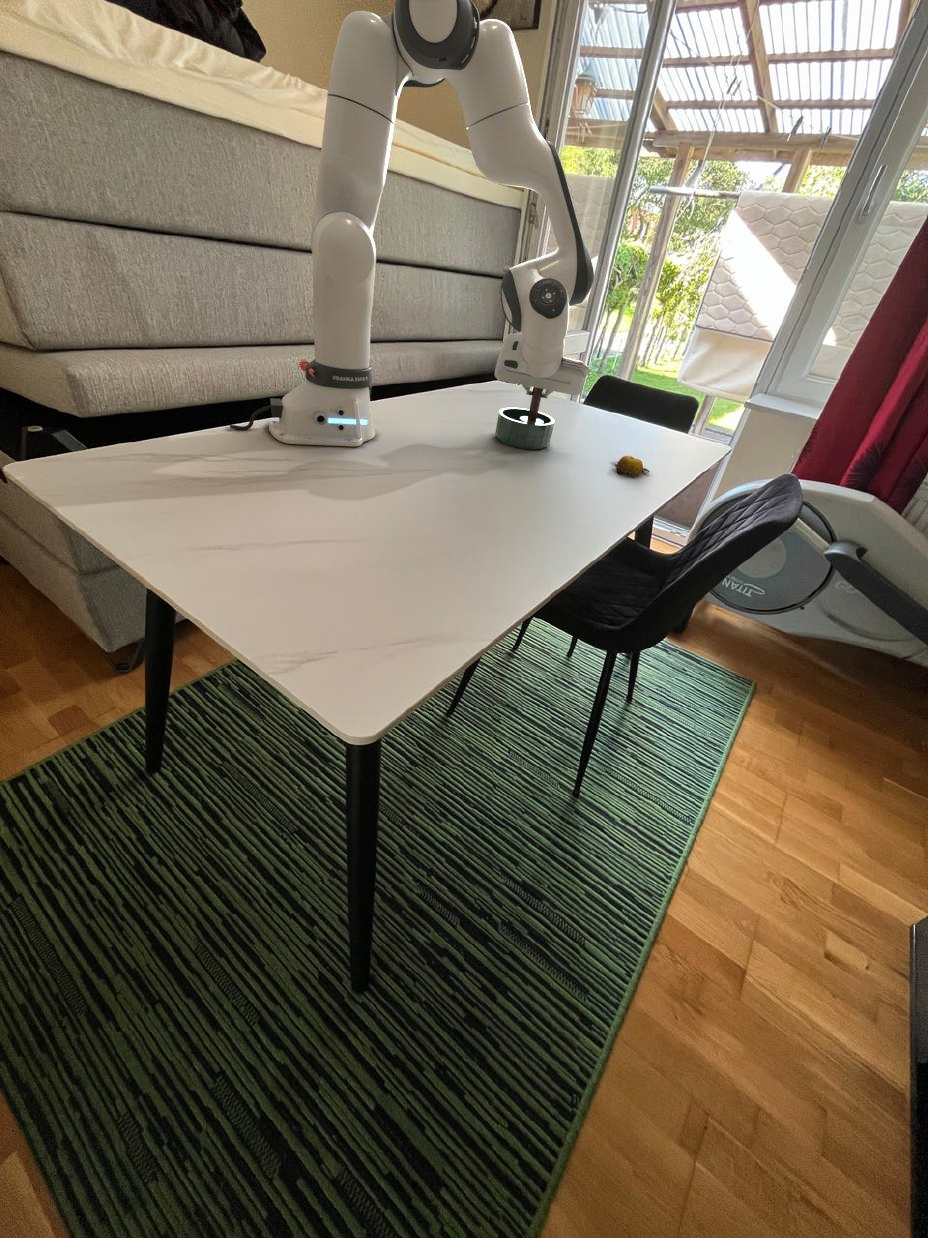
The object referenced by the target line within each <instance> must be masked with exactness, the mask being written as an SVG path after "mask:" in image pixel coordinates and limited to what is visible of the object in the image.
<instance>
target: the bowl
mask: <svg viewBox="0 0 928 1238" xmlns="http://www.w3.org/2000/svg"><path fill="white" fill-rule="evenodd" d="M528 414H529V409H527V408H520V407H504V408H500V409H499V411H498V415H497V420H496V426H495V433H494V435H495V436H496V438H497V440H499V442H501V443H503V444H505V445H507V446H511V447H513V448H517V449H522V450H530V451H534V450H537V451H538V450H542V449H545V448H547V447H548V446H549V445H550V442H551V438H552V435H553V430H554V426H555V419H554V418H553V417H552V416H550V415H548V414H546V413H544V412H540V411H538V415H537V418H538V419H541V420H543V421H544V424H530V423H524V422H520V421H519V419H520V417H522V416H528Z"/></svg>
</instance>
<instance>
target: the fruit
mask: <svg viewBox="0 0 928 1238" xmlns="http://www.w3.org/2000/svg"><path fill="white" fill-rule="evenodd" d="M614 463H615V465H616V467H615V470H616V472H617V473H619V474H620V473H624V474H626V473H628V474H631V475H632V477H639V476H640V475H641V473H642V472H646V474H648V473H650V472H651V471H650V469H648V468H646V467H644V464H643V461H642V460H641V459H639V458H636V457H633V456H632V455H623V456H622V457H621V458H619V460H618V461H615V462H614Z"/></svg>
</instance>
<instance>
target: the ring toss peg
mask: <svg viewBox="0 0 928 1238" xmlns="http://www.w3.org/2000/svg"><path fill="white" fill-rule="evenodd" d="M542 391H543V389H541V388H536V387H534V389H533V395H531V400H530V404H529V409H528V410H529V414H528V416H522V417H520V419H519V421H520V422H524V423H530V424H544V421H543V420H541V419H538V418H537V415H538V412H539V411H540V406H541V401H542V397H541V394H542Z"/></svg>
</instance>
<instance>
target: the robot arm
mask: <svg viewBox="0 0 928 1238" xmlns="http://www.w3.org/2000/svg"><path fill="white" fill-rule="evenodd" d="M394 2H395V3H394V6H393V8H392V10H391V11H390V12H389V13H388V14H386V15H380V16H379V15H377V14H376V13H374V12H371V11H368V10H356V11H351V12H350V13H349V14H347V16H346V17H345V18H344V19H343V21H342V22H341V26H340V29H339V33H338V36H337V39H336V40H337V41H336V44H335V48H334V53H333V58H332V62H331V67H330V72H329V79H328V87H327V96H326V102H325V103H326V104H325V112H324V123H323V129H322V130H323V131H322V141H321V148H320V158H319V159H320V160H319V165H318V176H317V183H316V190H315V199H314V208H313V215H312V216H313V217H312V224H311V225H312V226H311V233H310V249H311V256H312V257H311V258H312V294H313V295H312V296H313V298H312V299H313V300H312V302H313V304H312V305H313V334H314V335H313V341H314V359H313V360H311V361H310V362H309V361H308V360H307V359H305V358H302V359H300V361H299V362H298V366H299V368H300V370H302V371H303V372H304V373H305V374H304V375H305V380H303V381H302V382H301V383H299V384H298V385H297V386H295V387H294V388H293V389H291V390H290V391H289V392H287V393H286V394H285V395H283V397H282V399H281V398H274V397H273V398H272V397H271V398H269V402H270V404H269V405H267V406H263V407H261V408H258V409H257V410H255V411H254V412H253V413H252V414H251V416H250V418H249V422H248V424H247V425H245V426H242V425H236V424H229V429H233V430H237V431H247V430H250V429H251V428H252V427H253V425H254V422H255V419H256V417H257V416H258V415H259V414H262V413H264V412H267V411H270V412H271V417H272V418H271V420H269V423H268V430H269V433H270V434H271V436H273V438H275V439H276V440H277V441H279V442H282V443H284V444H290V445H307V446H308V445H309V446H332V447H333V446H334V447H360V446H361V445H362V444H363V443H364V442H367V441H370V440H372V439H373V438H375V436H376V431H375V428H374V422H373V417H372V416H373V415H372V408H371V394H372V386H373V374H372V366H371V364H370V363H371V361H370V359H371V330H372V329H371V327H372V326H371V325H372V315H373V305H374V295H375V294H374V293H375V281H376V267H377V265H376V264H377V248H376V243H375V241H374V240H375V239H374V237H373V236H374V231H375V226H376V220H377V217H378V213H379V207H380V203H381V199H382V195H383V191H384V188H385V185H386V179H387V178H386V177H387V171H388V164H389V160H390V154H391V147H392V141H393V136H394V130H395V129H394V128H395V122H396V116H397V111H398V104H399V99H400V95H401V92H402V89H403V88H423V89H425V88H426V89H428V88H433V87H436V86H438V85H440V84H442V83H443V82H444V81H445V80H447V82H449V84H451V85H452V87H453V88H454V90H455V92H456V93H457V96H458V98H459V101H460V104H461V107H462V112H463V118H464V125H465V129H466V134H467V139H468V143H469V147H470V150H471V154H472V157H473V160H474V163H475V165H476V167H477V168H478V170H479V172H480V173H481V174H482V175H483V176H484V177H485V178H487V179H488V180H490V181H492V182H494V183H496V184H499V185H504V186H508V187H509V186H510V187H518V188H525V189H528V190H531V191H534V192H535V193H537V194H538V195H539V196H540V197H541V199H542V200H543V202H544V205H545V207H546V211H547V214H548V218H549V221H550V224H551V228H552V231H553V234H554V238H555V241H556V245H557V246H556V249H555V251H553V252H551V253H548V254H544V255H542V256H540V257H537V258H535V259H534V258H533V259H530V260H527V261H525V262H522V263H519V264H517V265H514V266H512V267H510V268H507V270H506V272H504V274H503V277H502V280H501V283H500V303H501V310H502V313H503V315H504V318H505V319H506V321H507V323H508V325H510V326H511V327H512V328H513V329H514V330H516V331H517V332H519V333H508V334H506V336H505V338H504V340H503V342H502V346H501V349H500V351H499V354H498V357H497V361H496V365H495V369H494V377H495V378H496V379H497V380H498V381H502V382H506V383H511V384H517V385H521V386H522V388H523V389H524V390H525V391H526V393H525V394H526V395H528V396H532V395H533V389H534V387H536V388H541V389H543V391H542V394H541V399H548V397H549V395H550V394H552V393H553V392H556V393H561V394H565V395H570V396H576V397H577V396H579V395H581V394H582V392H583V388H584V386H585V385H584V384H585V378H586V377H587V376H588V374H589V371H590V367H589V366H588V365H587V364H585V363H584V362H583V361H582V360H576V359H572V358H567V357H564V351H565V342H566V341H565V339H566V336H567V334H568V328H569V320H570V307H572V306H576V305H580V304H582V303H584V302H585V299H586V298H587V297H588V295H589V294H590V291H591V290H592V287H593V285H594V283H595V271H594V266H593V263H592V262H593V261H592V259H591V255H590V253H589V250H588V248H587V246H586V243H585V240H584V237H583V233H582V231H581V227H580V224H579V219H578V216H577V212H576V208H575V205H574V202H573V197H572V194H571V191H570V188H569V187H570V186H569V183H568V180H567V177H566V173H565V170H564V166H563V163H562V160H561V158H560V155H559V152H558V151H557V148H556V146H555V144H554V143H553V142H552V141H549V140H547V139H544V137H543V136H542V134H541V132H540V131H539V129H538V127H537V125H536V123H535V120H534V117H533V114H532V110H531V104H530V97H529V92H528V91H529V90H528V85H527V82H526V76H525V72H524V68H523V63H522V59H521V56H520V53H519V48H518V46H517V42H516V40H515V36H514V34H513V31H512V30H511V28H510V26H509V25H508V24H507V23H506V22H504V21H502V20H499V19H493V18H490V19H484V20H480V19H481V18H480V17H481V15H480V12H479V9H478V8H477V6H476V5H475V3H474V2H473V0H395V1H394Z"/></svg>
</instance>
